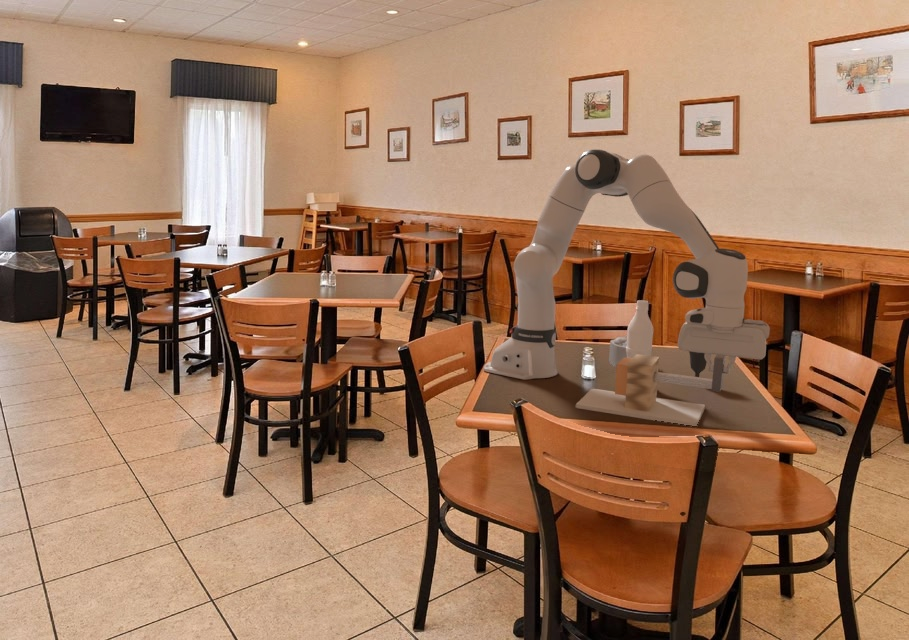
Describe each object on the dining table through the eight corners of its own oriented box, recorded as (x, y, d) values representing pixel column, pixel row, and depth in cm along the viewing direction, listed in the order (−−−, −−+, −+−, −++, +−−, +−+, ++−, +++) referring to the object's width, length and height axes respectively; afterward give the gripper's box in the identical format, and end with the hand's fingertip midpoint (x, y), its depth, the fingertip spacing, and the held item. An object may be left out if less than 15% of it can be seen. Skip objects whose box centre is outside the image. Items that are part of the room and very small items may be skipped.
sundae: (713, 386, 205) (718, 335, 202) (693, 387, 203) (697, 336, 201) (699, 380, 212) (704, 330, 209) (680, 381, 210) (684, 331, 207)
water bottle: (641, 392, 198) (648, 304, 193) (618, 386, 203) (624, 300, 198) (653, 386, 204) (660, 301, 199) (631, 381, 208) (636, 297, 203)
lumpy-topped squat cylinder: (635, 360, 234) (637, 334, 232) (652, 370, 221) (654, 343, 219) (605, 360, 232) (607, 335, 231) (620, 371, 220) (622, 344, 218)
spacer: (614, 394, 183) (616, 364, 181) (621, 386, 190) (623, 357, 188) (626, 395, 181) (628, 365, 180) (633, 387, 188) (635, 358, 187)
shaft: (621, 378, 183) (623, 348, 181) (625, 373, 187) (627, 344, 185) (720, 391, 172) (723, 360, 171) (722, 386, 177) (725, 355, 175)
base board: (575, 407, 184) (575, 404, 183) (591, 391, 198) (592, 388, 198) (696, 427, 171) (697, 423, 171) (704, 408, 185) (705, 404, 185)
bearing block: (624, 408, 181) (628, 362, 179) (633, 397, 190) (636, 354, 187) (648, 411, 178) (652, 365, 176) (656, 401, 187) (659, 357, 185)
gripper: (771, 319, 170) (765, 374, 173) (682, 310, 179) (678, 363, 181) (770, 323, 164) (763, 381, 167) (678, 314, 173) (674, 369, 176)
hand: (718, 372), depth 174 cm, fingers open, 2 cm apart
